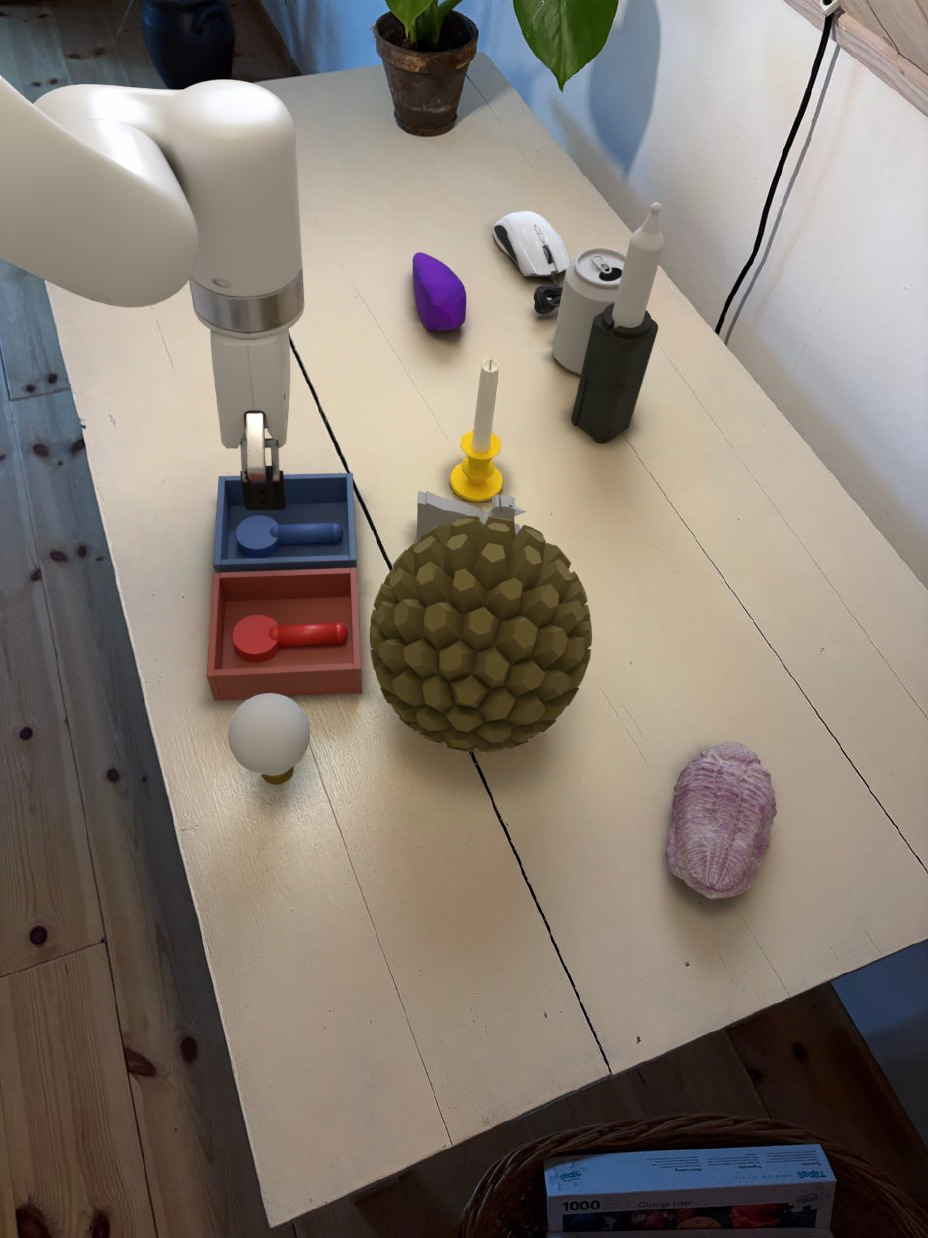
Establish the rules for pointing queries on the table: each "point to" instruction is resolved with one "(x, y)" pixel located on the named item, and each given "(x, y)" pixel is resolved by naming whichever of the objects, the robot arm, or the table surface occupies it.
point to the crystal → (438, 294)
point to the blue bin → (304, 505)
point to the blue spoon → (281, 535)
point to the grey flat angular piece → (460, 511)
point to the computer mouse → (534, 253)
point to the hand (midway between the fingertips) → (267, 462)
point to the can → (585, 301)
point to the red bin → (287, 604)
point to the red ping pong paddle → (280, 636)
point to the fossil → (721, 820)
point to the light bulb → (269, 736)
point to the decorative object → (480, 635)
